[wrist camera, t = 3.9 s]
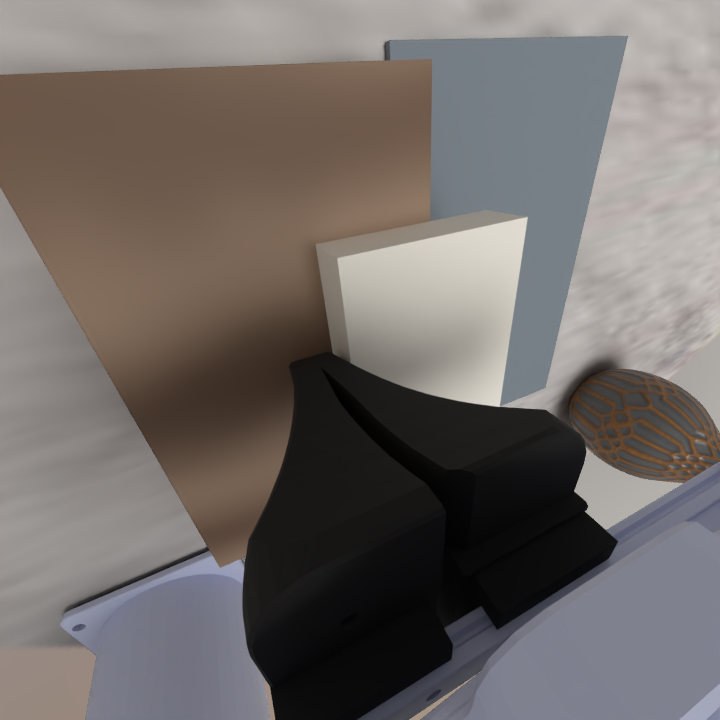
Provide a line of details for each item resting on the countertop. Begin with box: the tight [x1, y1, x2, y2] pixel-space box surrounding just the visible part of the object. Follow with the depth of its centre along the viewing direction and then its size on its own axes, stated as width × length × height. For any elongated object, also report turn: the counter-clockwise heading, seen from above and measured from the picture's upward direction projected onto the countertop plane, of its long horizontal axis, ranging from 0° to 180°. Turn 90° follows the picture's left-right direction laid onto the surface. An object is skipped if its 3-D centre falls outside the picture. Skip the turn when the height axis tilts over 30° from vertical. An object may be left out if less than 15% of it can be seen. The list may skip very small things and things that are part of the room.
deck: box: [0, 59, 432, 568], centre depth 13 cm, size 16×10×4 cm, turn 6°
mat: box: [385, 36, 628, 406], centre depth 18 cm, size 18×11×1 cm, turn 6°
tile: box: [315, 210, 528, 407], centre depth 12 cm, size 8×6×2 cm
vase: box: [569, 369, 720, 483], centre depth 24 cm, size 7×7×9 cm
